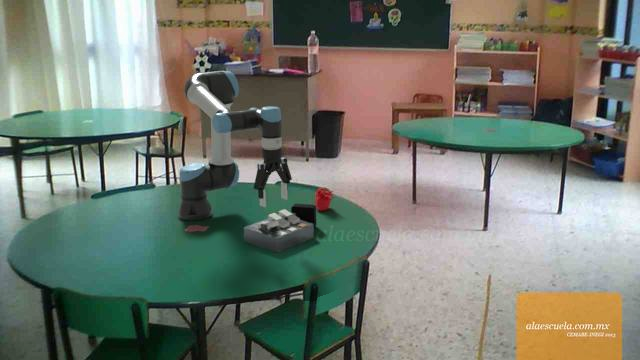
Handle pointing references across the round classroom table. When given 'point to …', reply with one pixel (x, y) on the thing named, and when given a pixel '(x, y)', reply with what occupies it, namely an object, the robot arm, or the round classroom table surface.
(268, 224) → the rocker near
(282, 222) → the rocker mid
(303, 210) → the electronic device
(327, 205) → the heart organ
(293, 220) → the rocker far
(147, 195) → the round classroom table surface
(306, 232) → the console
